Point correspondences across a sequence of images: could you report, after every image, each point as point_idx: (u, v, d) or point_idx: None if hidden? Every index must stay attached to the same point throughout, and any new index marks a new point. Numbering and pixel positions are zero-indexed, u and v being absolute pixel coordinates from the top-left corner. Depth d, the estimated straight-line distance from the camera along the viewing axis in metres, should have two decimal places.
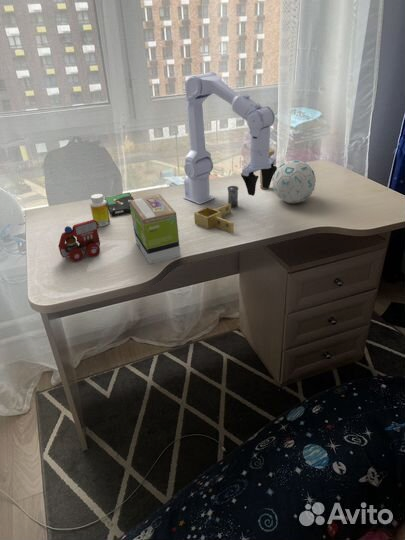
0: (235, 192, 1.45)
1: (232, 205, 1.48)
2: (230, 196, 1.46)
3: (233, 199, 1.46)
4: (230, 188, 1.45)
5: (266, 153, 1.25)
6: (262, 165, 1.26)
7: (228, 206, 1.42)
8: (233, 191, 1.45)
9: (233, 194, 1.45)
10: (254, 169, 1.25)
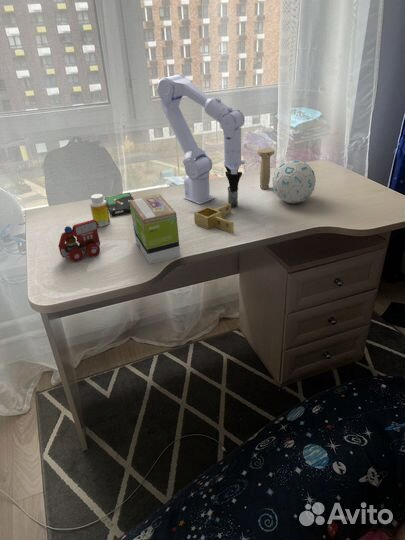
0: (235, 192, 1.45)
1: (232, 205, 1.48)
2: (230, 196, 1.46)
3: (233, 199, 1.46)
4: None
5: None
6: (240, 162, 1.39)
7: (228, 206, 1.42)
8: None
9: (233, 194, 1.45)
10: (238, 166, 1.37)
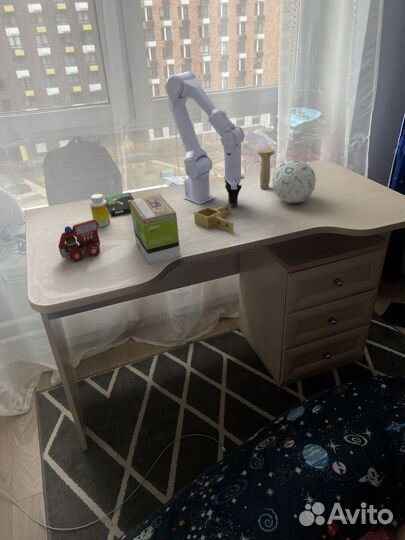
0: None
1: (232, 205, 1.48)
2: None
3: None
4: None
5: None
6: (240, 177, 1.42)
7: (228, 206, 1.42)
8: None
9: None
10: (238, 181, 1.40)
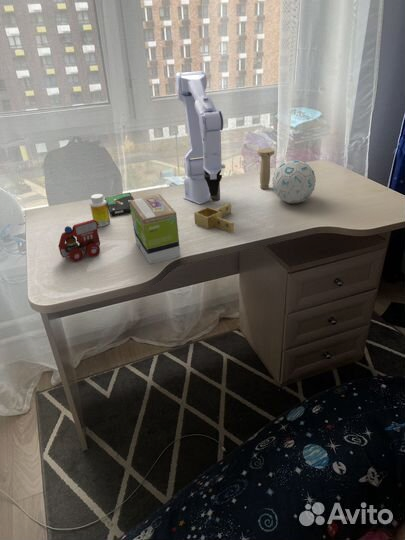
0: None
1: (215, 198, 1.35)
2: None
3: None
4: None
5: None
6: (220, 166, 1.29)
7: (228, 206, 1.42)
8: None
9: None
10: (218, 171, 1.27)
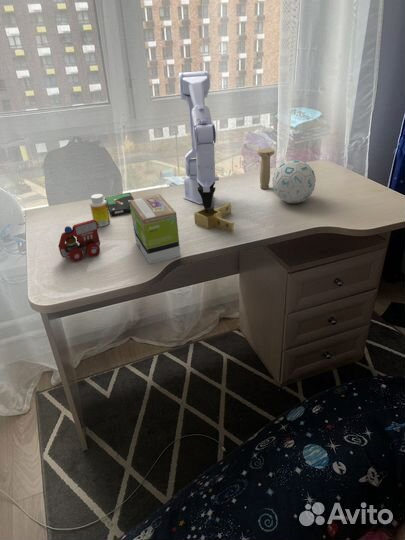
0: None
1: (208, 210, 1.34)
2: None
3: None
4: None
5: (214, 166, 1.28)
6: (213, 178, 1.28)
7: (228, 206, 1.42)
8: None
9: None
10: (211, 183, 1.26)
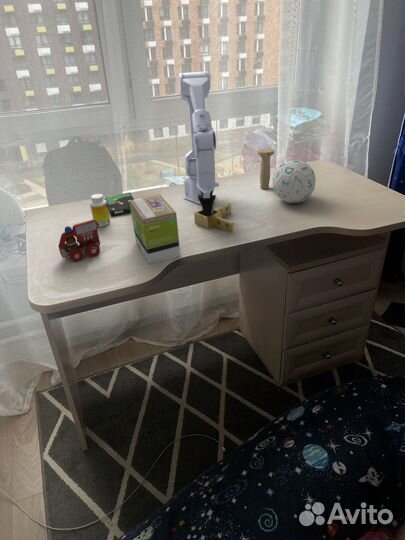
0: (212, 208, 1.34)
1: None
2: None
3: (210, 215, 1.35)
4: None
5: (214, 172, 1.29)
6: (213, 184, 1.29)
7: (228, 206, 1.42)
8: None
9: None
10: (211, 189, 1.27)
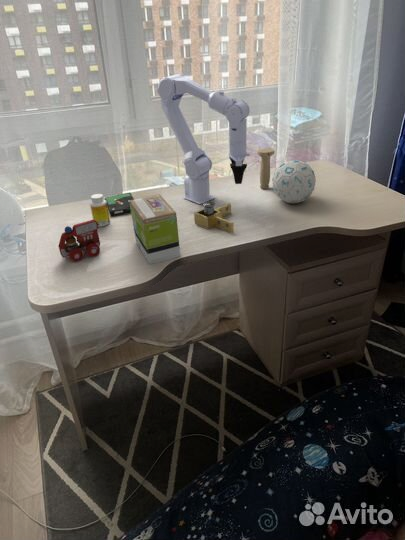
0: (212, 208, 1.34)
1: None
2: (206, 213, 1.35)
3: (210, 215, 1.35)
4: (206, 204, 1.34)
5: None
6: (245, 153, 1.38)
7: (228, 206, 1.42)
8: (210, 207, 1.34)
9: (210, 210, 1.35)
10: (243, 158, 1.36)
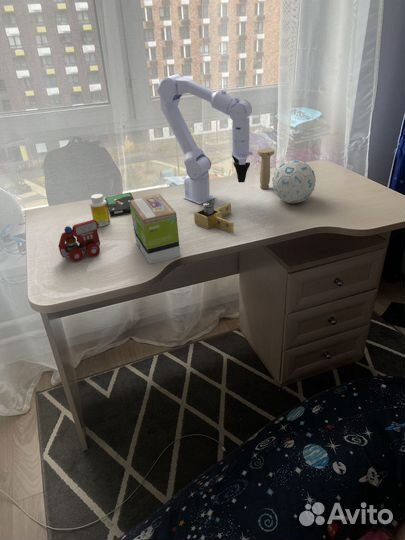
0: (211, 208, 1.34)
1: None
2: (206, 213, 1.35)
3: (210, 215, 1.35)
4: (206, 204, 1.34)
5: None
6: (248, 152, 1.39)
7: (228, 206, 1.42)
8: (209, 207, 1.34)
9: (210, 210, 1.34)
10: (246, 157, 1.37)
